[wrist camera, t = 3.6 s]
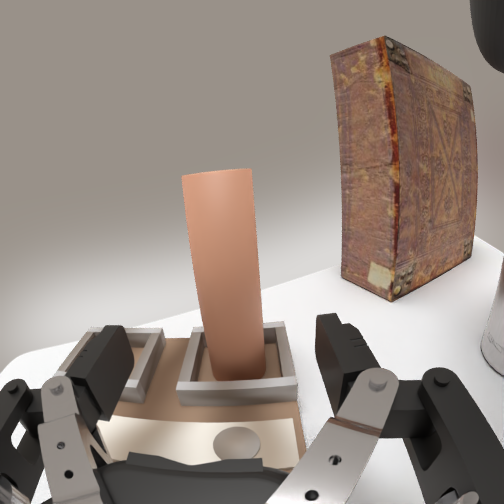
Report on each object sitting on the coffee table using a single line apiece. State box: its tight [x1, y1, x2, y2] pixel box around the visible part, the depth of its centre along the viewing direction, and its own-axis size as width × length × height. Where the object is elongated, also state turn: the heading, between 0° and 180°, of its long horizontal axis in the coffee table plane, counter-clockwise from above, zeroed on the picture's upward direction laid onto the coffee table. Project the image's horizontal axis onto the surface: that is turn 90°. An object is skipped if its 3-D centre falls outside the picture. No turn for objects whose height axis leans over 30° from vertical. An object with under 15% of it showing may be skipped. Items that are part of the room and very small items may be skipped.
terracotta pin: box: [182, 169, 266, 381], centre depth 18 cm, size 4×4×14 cm
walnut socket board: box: [53, 321, 306, 473], centre depth 18 cm, size 18×14×3 cm
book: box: [330, 36, 478, 302], centre depth 34 cm, size 25×9×30 cm, turn 115°
